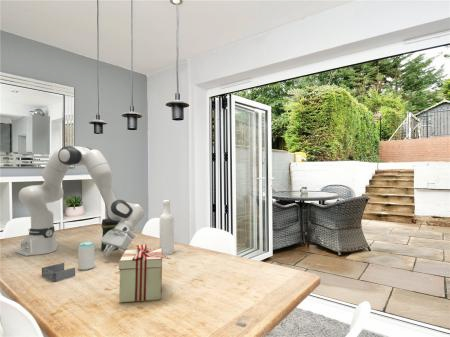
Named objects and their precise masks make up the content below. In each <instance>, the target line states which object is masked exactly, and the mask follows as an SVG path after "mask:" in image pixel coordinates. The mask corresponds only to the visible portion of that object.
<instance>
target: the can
mask: <svg viewBox="0 0 450 337" xmlns="http://www.w3.org/2000/svg"><path fill="white" fill-rule="evenodd" d="M95 249H96V248H95V244H94V242H93V241H85V242H81V243H79V246H78V249H77V250H78V252H77V255H78V256H77V258H78V259H77V261H78V262H77V263H78V264H77V265H78V266H77V267H78V269H79V270H80V271H87V270H91V269H93V268H94V267H95V265H96V263H95V252H96V251H95Z"/></svg>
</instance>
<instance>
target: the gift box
mask: <svg viewBox="0 0 450 337" xmlns="http://www.w3.org/2000/svg"><path fill="white" fill-rule="evenodd" d="M161 248H162V247H161ZM163 259H166V260H170V259H171V257H167V255H163V254H162V249H160V247H147V244H146V243H145V244H138V245H136V249H125V250H124V252H123V253H122V256H121V258H120V259H119V261H118V270H119V291H118V292H119V298H118V300H119V301H118V302H119V303H130V302H131V303H132V302H143V301H144V302H145V301H146V302H147V301H155V300H161V297H162V296H161V294H162V282H163V280H162V279H163V275H162V274H163V272H162V270H163Z"/></svg>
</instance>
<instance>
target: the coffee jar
mask: <svg viewBox="0 0 450 337" xmlns="http://www.w3.org/2000/svg"><path fill="white" fill-rule="evenodd" d="M118 223H119V222H117V223H115V222H111V221H110V220H109V219H108V218H103V219H102V221H101V229H102V234H101V236H102V237H103V236H104V235H105V234H106V233H107V232H108V231H110V230H112V229H114V228H115V227H116V226H117V224H118ZM100 246H101V247H100V248H101V249H100V250H102V251H103V252H104V250H105V249H106V245H105V244H103V243H102V242H101V245H100ZM118 249H119V248H115V249H114V250H113V251H116V250H118Z"/></svg>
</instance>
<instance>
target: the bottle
mask: <svg viewBox="0 0 450 337" xmlns="http://www.w3.org/2000/svg"><path fill="white" fill-rule="evenodd" d="M162 204H163V205H162V206H163V207H162V209H163V210H162V211H163V212H162V214H160V216H159V249H162V254H163V255H164V256H169V255H173V254H174V252H175V246H174V244H175V242H174V238H175V237H174V235H175V234H174V224H175V223H174V219H175V218H174V216H173V214H172V213H171V206H170V205H171V202H170V200H169V199H164V200H163V202H162ZM161 247H162V248H161Z"/></svg>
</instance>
